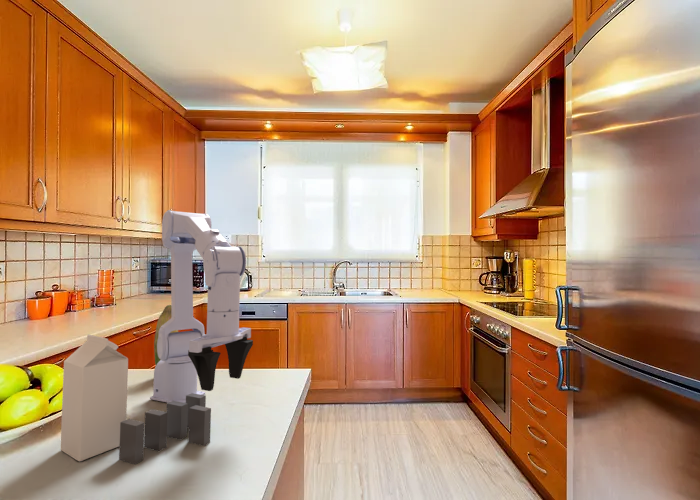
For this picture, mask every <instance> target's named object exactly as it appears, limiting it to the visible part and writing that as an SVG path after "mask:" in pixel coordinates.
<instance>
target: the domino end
mask: <svg viewBox="0 0 700 500" xmlns="http://www.w3.org/2000/svg"><path fill="white" fill-rule="evenodd" d="M144 429H145V421H140V420H136V419H132V418H126V420H125V421H122V422H120V446H119V453H118V455H119V457H118V461H122V462H125V463H128V464H131V465H136V464H139V463H141V462H142V461H144V450H145V449H144V448H145V447H144Z"/></svg>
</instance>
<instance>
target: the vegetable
mask: <svg viewBox="0 0 700 500" xmlns="http://www.w3.org/2000/svg"><path fill="white" fill-rule="evenodd" d="M171 318H172V308H171V304H168V305H166V306H165V307H164V309H163V310H162V312H161V313H160V315H159V317H158V319H157V322H156V327H155V334H154V341H153V345H154V346H153V350H154V351H153V353H154V362H155V363H154V365H155V366H156V365H157V363H158V362H159V361H160V360H161V359H159V357H158V353H157V340H158V334H159V329H160V327H161V326H162V325H163V324H165V323H166V322H167V321H169V320H170V319H171ZM174 332H179V330H174V331H171V332H170V333H174Z"/></svg>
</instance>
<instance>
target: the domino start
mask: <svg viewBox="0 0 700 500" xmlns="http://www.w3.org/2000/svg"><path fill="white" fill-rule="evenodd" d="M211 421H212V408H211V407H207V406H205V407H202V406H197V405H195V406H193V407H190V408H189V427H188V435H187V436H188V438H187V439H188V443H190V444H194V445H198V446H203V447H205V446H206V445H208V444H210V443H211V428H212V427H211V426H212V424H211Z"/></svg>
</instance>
